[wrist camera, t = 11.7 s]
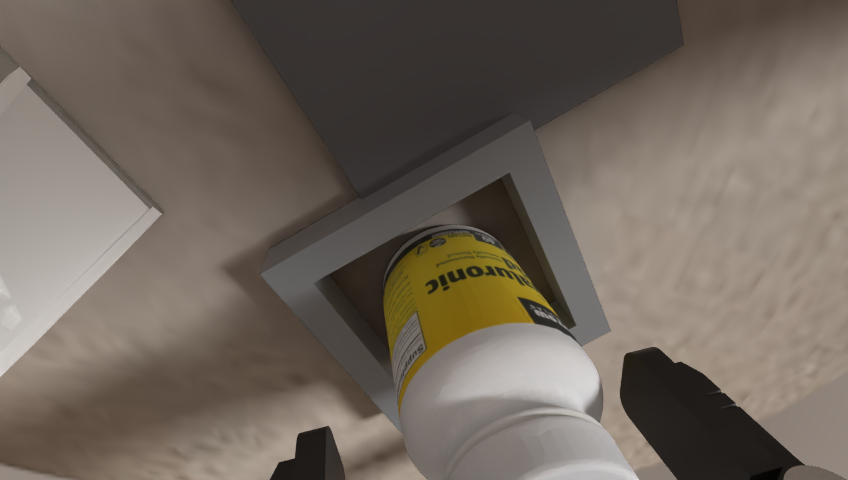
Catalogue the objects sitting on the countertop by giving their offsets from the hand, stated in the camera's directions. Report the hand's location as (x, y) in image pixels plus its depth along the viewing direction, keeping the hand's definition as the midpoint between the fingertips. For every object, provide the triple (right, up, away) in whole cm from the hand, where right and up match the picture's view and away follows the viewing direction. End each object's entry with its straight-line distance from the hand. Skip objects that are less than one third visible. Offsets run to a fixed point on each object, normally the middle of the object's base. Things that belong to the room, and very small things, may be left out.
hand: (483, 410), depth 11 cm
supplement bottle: (-1, +3, +6) cm, 7 cm away
